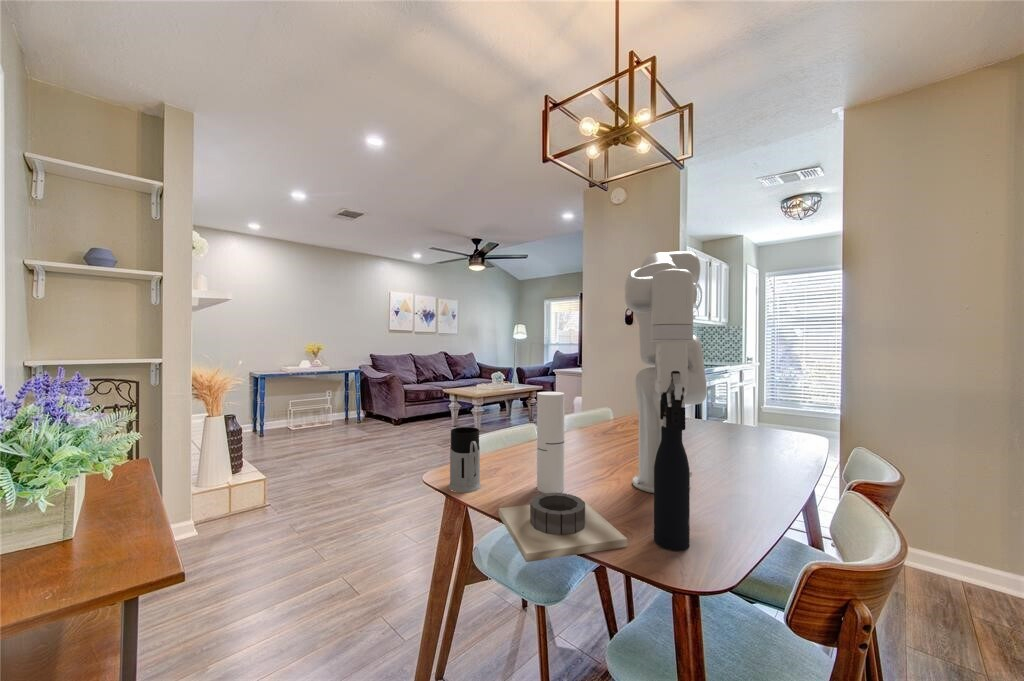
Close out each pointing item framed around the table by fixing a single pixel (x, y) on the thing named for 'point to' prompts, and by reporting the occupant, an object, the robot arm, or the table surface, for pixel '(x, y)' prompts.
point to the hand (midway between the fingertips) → (671, 424)
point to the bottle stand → (559, 528)
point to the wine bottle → (671, 490)
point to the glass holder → (464, 460)
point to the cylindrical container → (550, 441)
